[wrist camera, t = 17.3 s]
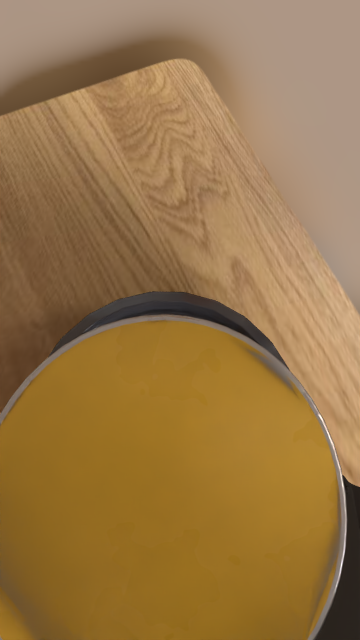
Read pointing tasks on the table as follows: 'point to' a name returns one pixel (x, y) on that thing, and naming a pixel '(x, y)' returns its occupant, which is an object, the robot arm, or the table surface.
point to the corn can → (167, 491)
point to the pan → (170, 306)
